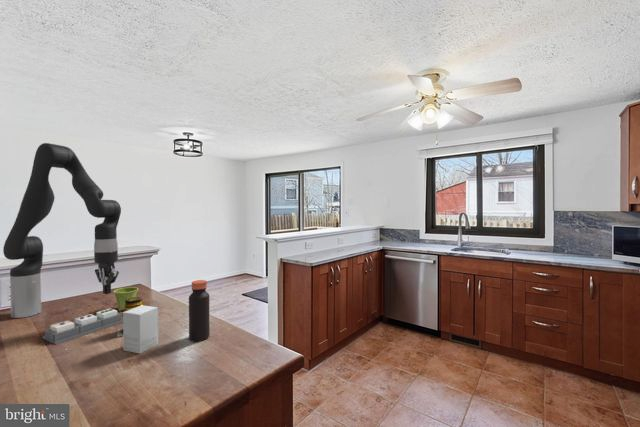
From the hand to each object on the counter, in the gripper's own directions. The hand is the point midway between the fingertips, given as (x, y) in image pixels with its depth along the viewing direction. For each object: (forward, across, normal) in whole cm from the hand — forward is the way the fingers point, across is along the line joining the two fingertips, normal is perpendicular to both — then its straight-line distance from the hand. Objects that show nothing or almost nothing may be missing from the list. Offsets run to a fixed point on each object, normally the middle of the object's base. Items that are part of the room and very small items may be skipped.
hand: (107, 293), depth 117 cm
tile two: (+10, 0, -7) cm, 12 cm away
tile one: (+10, 0, -14) cm, 18 cm away
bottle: (+12, +43, +8) cm, 45 cm away
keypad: (+12, 0, -7) cm, 14 cm away
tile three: (+10, 0, 0) cm, 10 cm away
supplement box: (+12, +32, -6) cm, 35 cm away
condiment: (+12, +16, 0) cm, 20 cm away
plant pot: (+12, -10, +13) cm, 20 cm away
